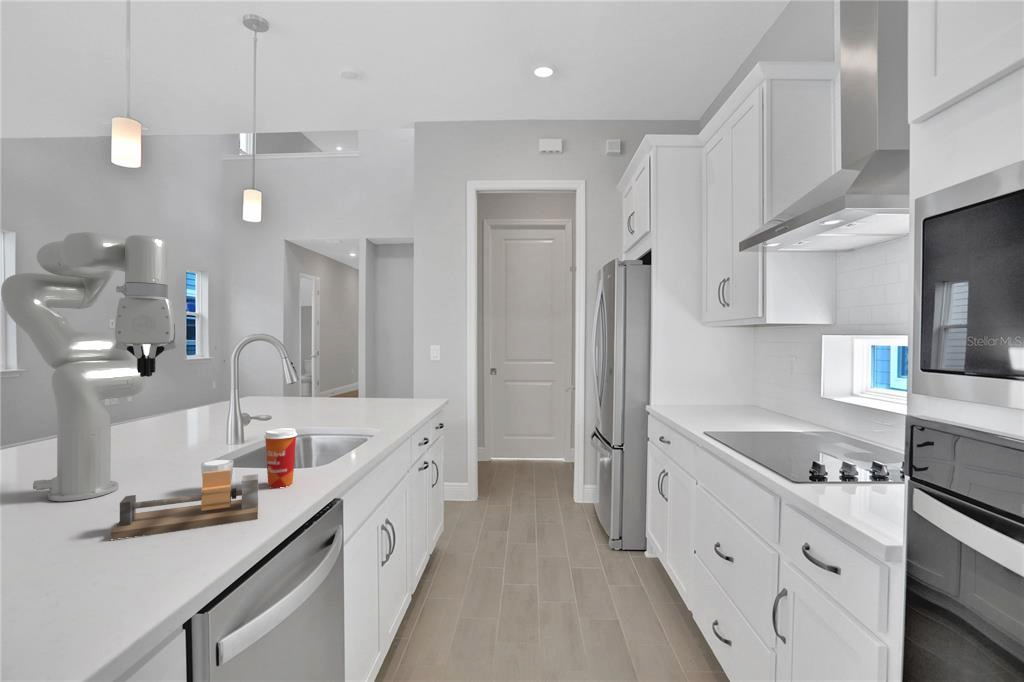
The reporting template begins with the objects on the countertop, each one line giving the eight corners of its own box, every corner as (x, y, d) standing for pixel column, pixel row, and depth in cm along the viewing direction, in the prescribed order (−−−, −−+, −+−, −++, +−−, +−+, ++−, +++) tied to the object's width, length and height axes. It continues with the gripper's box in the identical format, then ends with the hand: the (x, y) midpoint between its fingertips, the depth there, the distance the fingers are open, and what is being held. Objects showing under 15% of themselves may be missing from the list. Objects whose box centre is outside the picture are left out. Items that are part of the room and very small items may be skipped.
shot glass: (218, 496, 113) (218, 466, 113) (193, 493, 114) (193, 464, 114) (240, 487, 120) (240, 459, 120) (216, 485, 121) (216, 457, 121)
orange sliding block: (201, 510, 97) (201, 475, 97) (203, 504, 101) (203, 470, 101) (229, 506, 99) (230, 472, 99) (231, 500, 103) (231, 467, 103)
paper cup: (256, 487, 120) (257, 431, 120) (281, 479, 127) (282, 426, 127) (279, 491, 117) (280, 434, 117) (304, 482, 124) (304, 429, 124)
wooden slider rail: (110, 540, 88) (110, 500, 88) (124, 521, 97) (124, 485, 97) (257, 518, 99) (257, 483, 99) (258, 503, 108) (258, 471, 108)
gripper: (97, 289, 98) (97, 378, 98) (185, 293, 105) (184, 376, 105) (108, 292, 104) (107, 375, 105) (189, 295, 111) (189, 374, 112)
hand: (146, 376), depth 105 cm, fingers closed
